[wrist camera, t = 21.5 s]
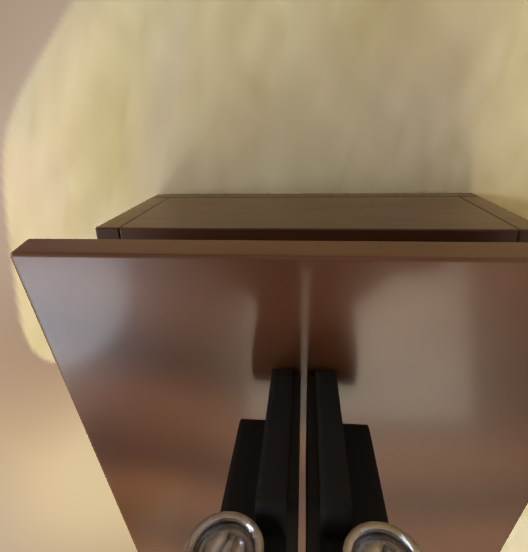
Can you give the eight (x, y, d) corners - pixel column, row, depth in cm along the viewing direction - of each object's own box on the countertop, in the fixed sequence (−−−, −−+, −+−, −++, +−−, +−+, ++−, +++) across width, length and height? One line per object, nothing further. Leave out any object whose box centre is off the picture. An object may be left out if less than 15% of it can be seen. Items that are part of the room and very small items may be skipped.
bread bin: (157, 194, 18) (94, 227, 13) (472, 193, 17) (549, 229, 12) (188, 458, 24) (154, 557, 19) (425, 473, 23) (462, 584, 17)
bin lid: (28, 237, 10) (7, 253, 9) (639, 241, 8) (667, 261, 8) (153, 557, 19) (147, 577, 18) (463, 584, 17) (469, 607, 17)
